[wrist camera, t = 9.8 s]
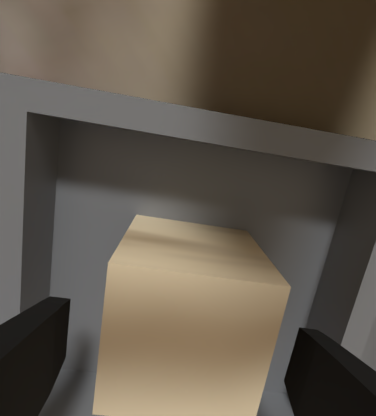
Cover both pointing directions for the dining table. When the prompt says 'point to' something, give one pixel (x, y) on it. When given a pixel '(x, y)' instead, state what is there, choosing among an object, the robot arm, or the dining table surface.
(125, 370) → the maple cube
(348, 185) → the tray
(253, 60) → the dining table surface
